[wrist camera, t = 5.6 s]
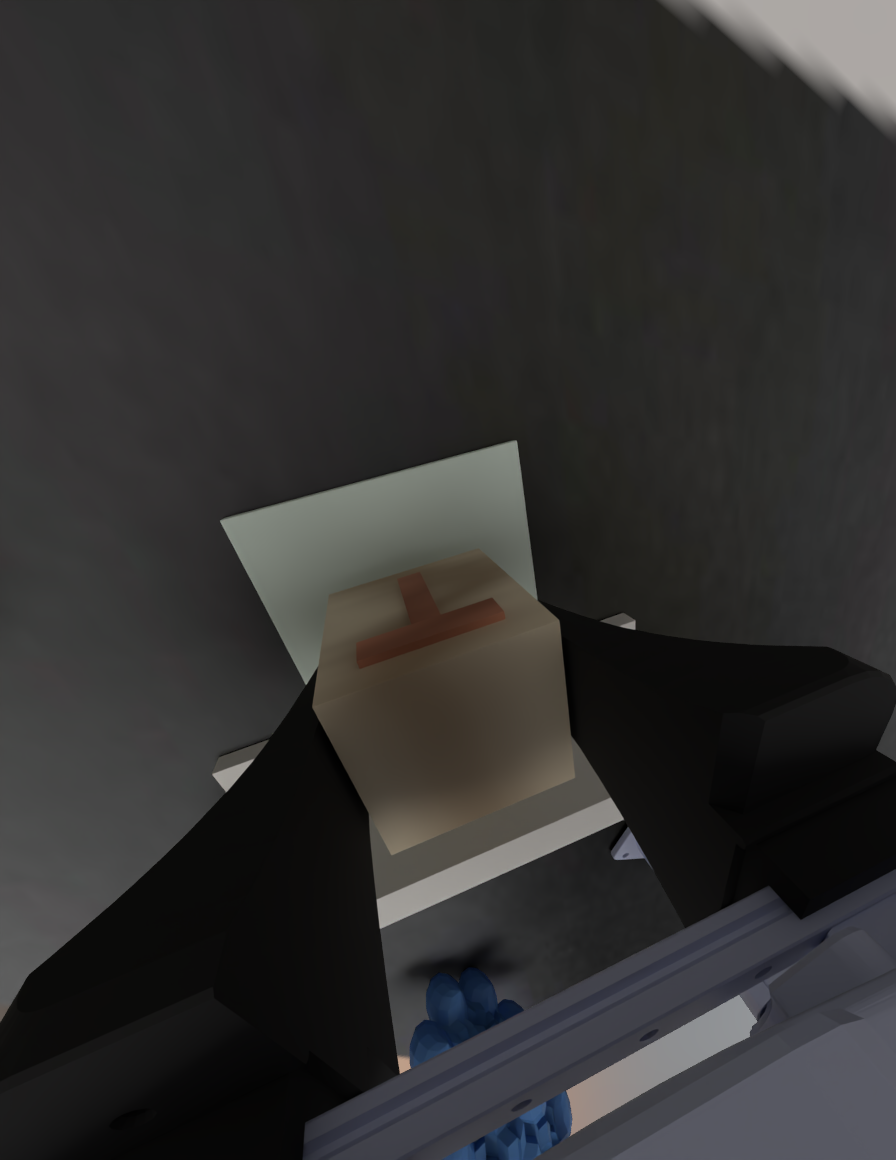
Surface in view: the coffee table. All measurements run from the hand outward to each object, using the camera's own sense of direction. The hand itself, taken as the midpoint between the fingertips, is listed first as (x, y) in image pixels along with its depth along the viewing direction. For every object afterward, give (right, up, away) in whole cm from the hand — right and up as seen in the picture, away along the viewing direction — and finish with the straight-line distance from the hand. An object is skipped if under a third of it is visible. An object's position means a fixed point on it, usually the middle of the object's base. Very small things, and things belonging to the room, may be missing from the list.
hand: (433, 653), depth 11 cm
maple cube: (0, 0, +2) cm, 2 cm away
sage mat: (-1, +1, +3) cm, 4 cm away
